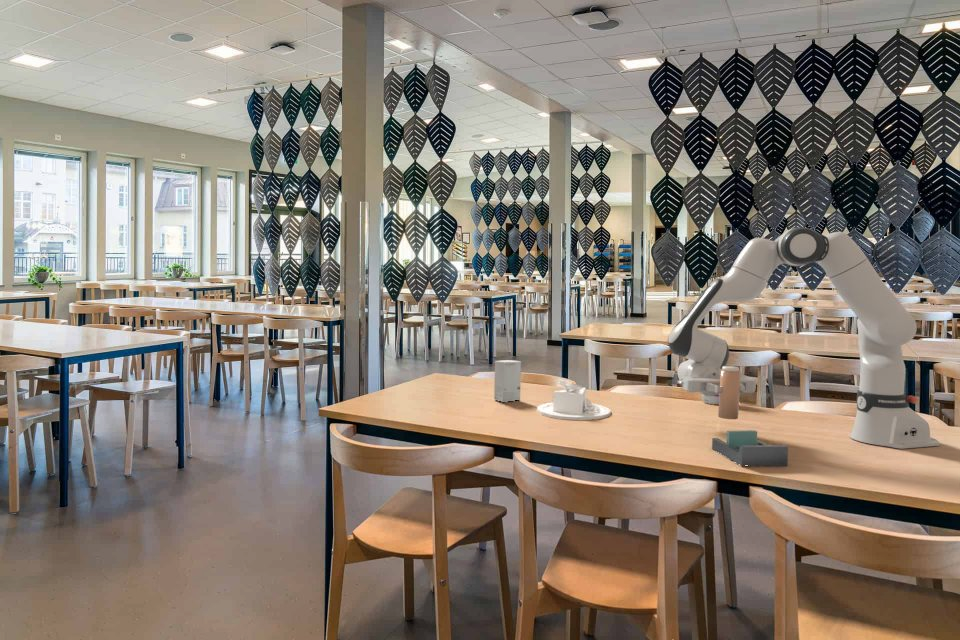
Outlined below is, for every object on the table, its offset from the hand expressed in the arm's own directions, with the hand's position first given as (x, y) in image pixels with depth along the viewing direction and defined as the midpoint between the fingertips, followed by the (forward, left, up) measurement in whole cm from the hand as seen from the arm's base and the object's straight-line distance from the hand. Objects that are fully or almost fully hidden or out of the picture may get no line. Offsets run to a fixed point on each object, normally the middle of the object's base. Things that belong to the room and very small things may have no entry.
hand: (731, 389), depth 181 cm
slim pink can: (0, -1, -8) cm, 8 cm away
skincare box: (+53, -66, -16) cm, 86 cm away
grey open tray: (0, +10, -16) cm, 19 cm away
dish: (+33, -46, -16) cm, 59 cm away
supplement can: (-23, -59, -16) cm, 65 cm away
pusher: (0, +8, -16) cm, 18 cm away
